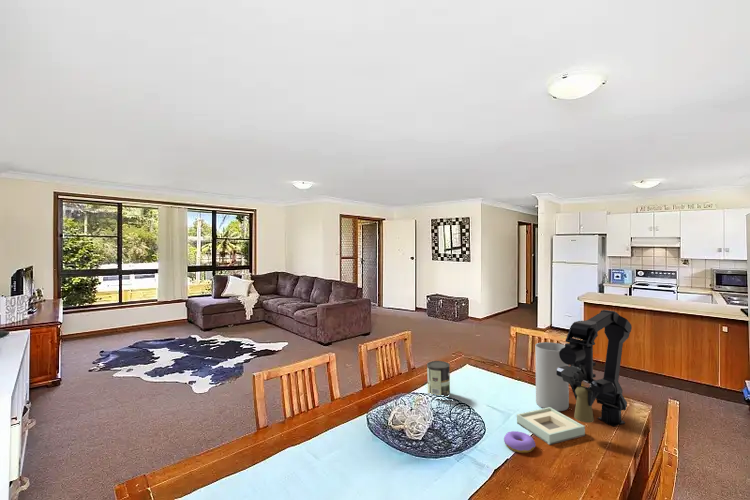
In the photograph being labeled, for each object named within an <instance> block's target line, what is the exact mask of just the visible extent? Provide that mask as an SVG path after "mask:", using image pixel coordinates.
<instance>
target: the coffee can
mask: <svg viewBox="0 0 750 500" xmlns="http://www.w3.org/2000/svg"><path fill="white" fill-rule="evenodd" d="M450 368H451V365H450V363H448V362H446V361H444V360H432V361H428V362H427V363H426V374H427V375H426V376H427V379H426V380H427V394H428V393H431V394H436V395H444V396H448V395H449V394H450V395H451V386H450V385H451V384H450V382H451V381H450V380H451V379H450V378H451V377H450V375H451V373H450V372H451V370H450Z"/></svg>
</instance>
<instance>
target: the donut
mask: <svg viewBox="0 0 750 500" xmlns="http://www.w3.org/2000/svg"><path fill="white" fill-rule="evenodd" d="M503 442H504V444H505V446H506V447H507V448H508V449H509V450H511V451H513V452H515V453H520V454H521V453H522V454H528V453H530V452H533V451H534V449H535V448H536V442H535V440H534V438H533V437H532V436H531V435H530V434H527V433H525V432H522V431H514V430H512V431H508V432H507V433H506V434H505V435H504V438H503Z"/></svg>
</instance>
